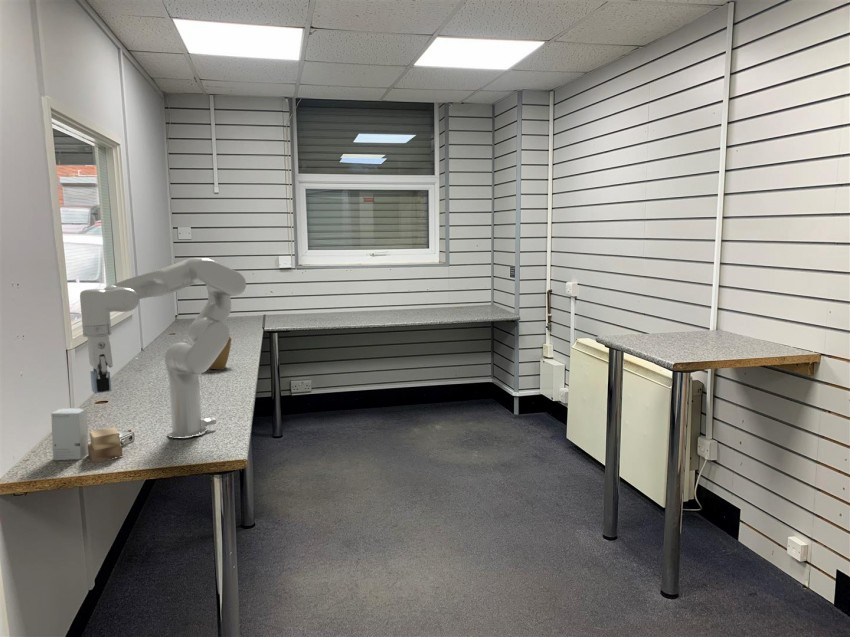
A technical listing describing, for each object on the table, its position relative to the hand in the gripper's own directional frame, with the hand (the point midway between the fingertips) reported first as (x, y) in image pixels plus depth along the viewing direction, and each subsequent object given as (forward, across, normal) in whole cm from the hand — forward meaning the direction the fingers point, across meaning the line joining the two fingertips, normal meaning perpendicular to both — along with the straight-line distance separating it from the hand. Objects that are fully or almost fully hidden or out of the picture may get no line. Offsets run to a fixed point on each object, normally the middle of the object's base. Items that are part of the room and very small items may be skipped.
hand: (101, 388), depth 181 cm
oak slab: (+18, 0, 0) cm, 18 cm away
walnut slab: (+22, 0, 0) cm, 22 cm away
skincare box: (+22, +6, +8) cm, 24 cm away
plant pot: (+21, +102, -70) cm, 125 cm away
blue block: (+1, 0, 0) cm, 1 cm away
